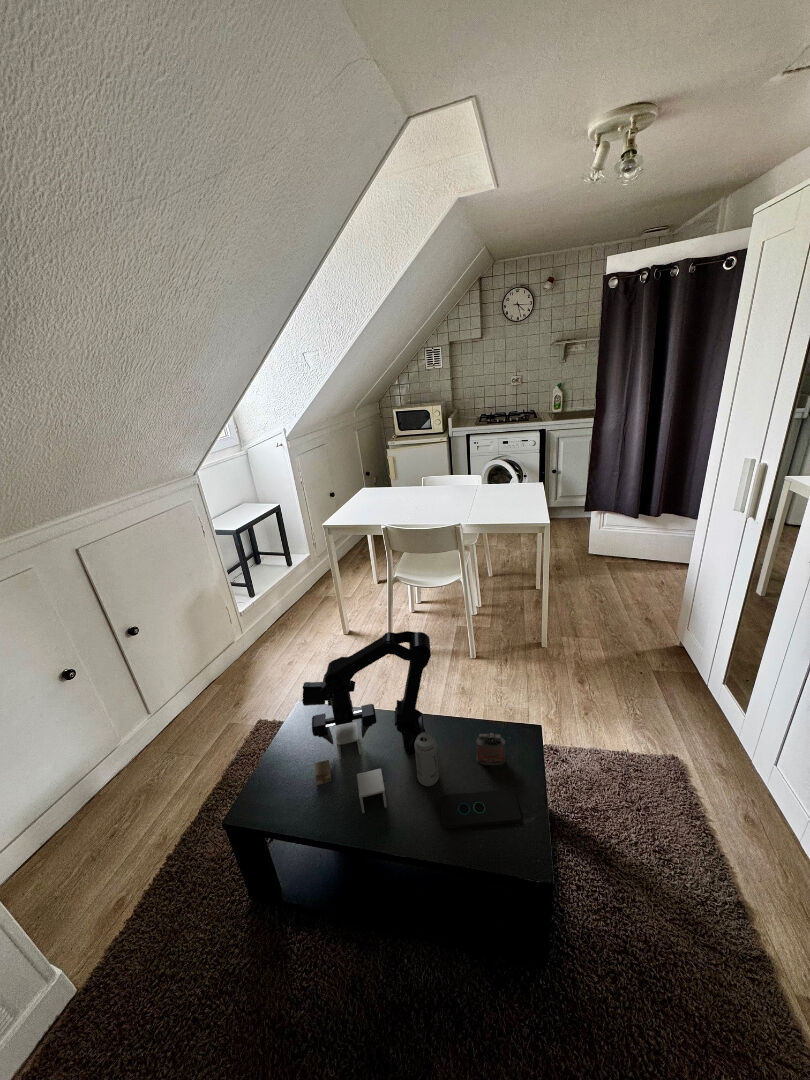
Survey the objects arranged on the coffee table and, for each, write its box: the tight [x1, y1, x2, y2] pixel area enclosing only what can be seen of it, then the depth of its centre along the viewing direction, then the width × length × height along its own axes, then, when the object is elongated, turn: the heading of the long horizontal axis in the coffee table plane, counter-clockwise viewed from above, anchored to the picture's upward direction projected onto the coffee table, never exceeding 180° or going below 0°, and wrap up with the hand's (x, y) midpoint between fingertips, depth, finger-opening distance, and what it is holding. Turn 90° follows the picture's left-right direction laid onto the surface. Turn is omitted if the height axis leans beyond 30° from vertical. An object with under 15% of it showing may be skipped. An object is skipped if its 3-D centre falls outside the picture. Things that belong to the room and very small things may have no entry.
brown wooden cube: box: [314, 759, 332, 786], centre depth 120 cm, size 4×4×4 cm
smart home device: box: [439, 789, 523, 829], centre depth 109 cm, size 8×2×20 cm
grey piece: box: [335, 721, 362, 760], centre depth 128 cm, size 7×7×6 cm
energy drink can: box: [414, 731, 440, 787], centre depth 115 cm, size 6×6×15 cm
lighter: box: [475, 732, 506, 766], centre depth 120 cm, size 8×3×10 cm, turn 84°
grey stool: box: [356, 768, 388, 814], centre depth 113 cm, size 7×7×6 cm
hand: (347, 739), depth 128 cm, fingers open, 9 cm apart
